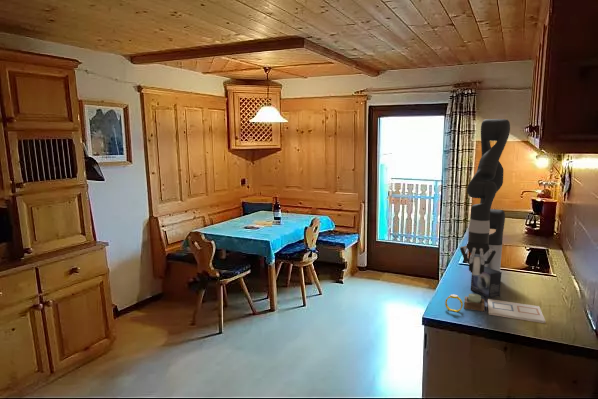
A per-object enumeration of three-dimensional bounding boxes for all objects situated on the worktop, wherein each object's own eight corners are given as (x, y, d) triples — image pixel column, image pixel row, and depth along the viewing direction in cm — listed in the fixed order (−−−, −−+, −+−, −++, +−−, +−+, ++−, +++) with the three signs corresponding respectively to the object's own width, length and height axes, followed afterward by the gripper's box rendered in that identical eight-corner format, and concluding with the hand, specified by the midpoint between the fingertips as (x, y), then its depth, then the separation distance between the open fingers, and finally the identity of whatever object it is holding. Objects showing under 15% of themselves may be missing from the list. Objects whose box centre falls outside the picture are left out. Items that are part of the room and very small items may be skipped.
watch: (444, 311, 156) (444, 295, 156) (446, 308, 158) (446, 293, 158) (461, 313, 153) (461, 297, 153) (463, 311, 155) (463, 295, 155)
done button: (468, 300, 163) (468, 292, 163) (480, 302, 161) (481, 294, 161) (467, 303, 159) (468, 296, 159) (480, 305, 157) (481, 298, 157)
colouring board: (487, 300, 168) (487, 298, 168) (539, 308, 161) (539, 306, 161) (488, 314, 153) (488, 312, 153) (545, 323, 146) (545, 320, 146)
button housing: (464, 302, 165) (464, 296, 165) (483, 305, 162) (484, 299, 162) (463, 308, 159) (464, 301, 158) (484, 311, 156) (484, 304, 156)
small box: (469, 290, 181) (471, 266, 180) (481, 288, 183) (482, 265, 182) (488, 298, 171) (490, 273, 170) (500, 296, 173) (502, 271, 172)
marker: (471, 273, 172) (473, 252, 171) (480, 274, 171) (481, 253, 169) (471, 275, 169) (473, 254, 168) (480, 276, 168) (481, 254, 167)
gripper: (498, 230, 168) (494, 272, 170) (460, 227, 174) (457, 268, 176) (498, 234, 161) (495, 277, 164) (459, 230, 167) (457, 272, 169)
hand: (476, 272), depth 170 cm, fingers closed on marker, 3 cm apart
